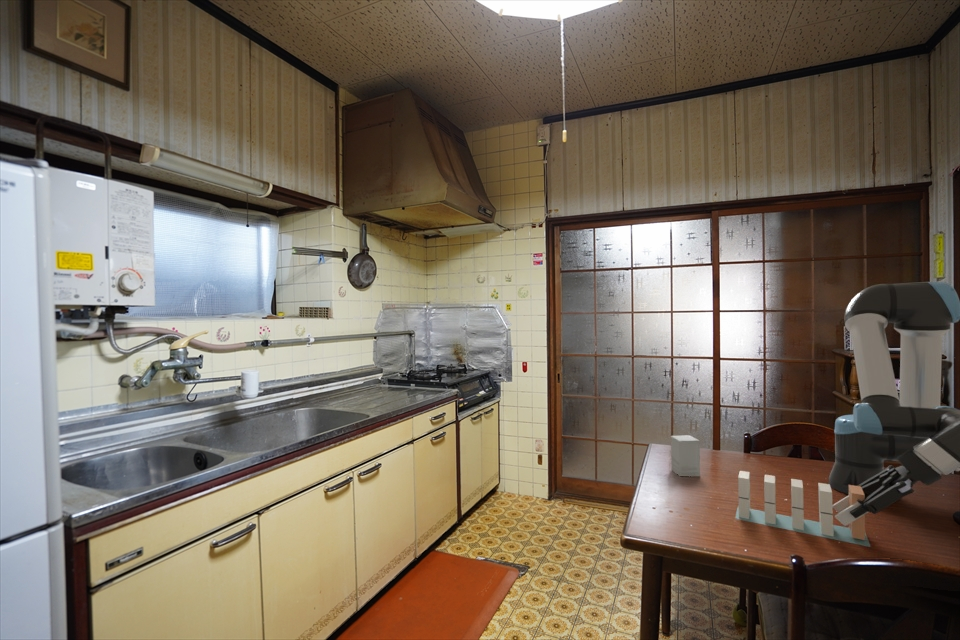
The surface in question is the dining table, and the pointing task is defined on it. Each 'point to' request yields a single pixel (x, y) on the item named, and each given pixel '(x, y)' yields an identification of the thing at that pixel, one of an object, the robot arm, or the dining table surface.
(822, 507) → the domino
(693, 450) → the supplement box
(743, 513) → the domino
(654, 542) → the dining table surface
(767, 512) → the domino
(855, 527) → the terracotta domino
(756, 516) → the domino board
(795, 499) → the domino
